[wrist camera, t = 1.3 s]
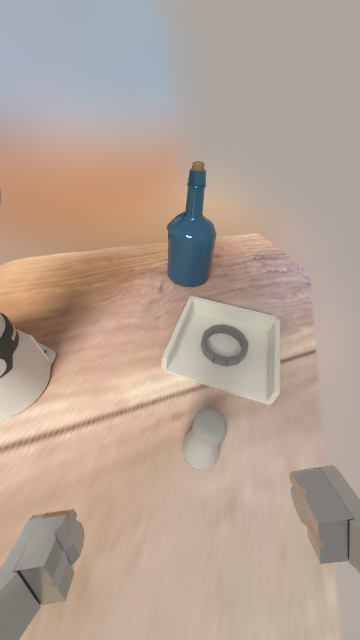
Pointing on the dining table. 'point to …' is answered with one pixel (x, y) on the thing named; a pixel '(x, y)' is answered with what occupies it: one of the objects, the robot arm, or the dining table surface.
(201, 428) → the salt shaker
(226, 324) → the box
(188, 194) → the wine bottle
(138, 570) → the dining table surface
